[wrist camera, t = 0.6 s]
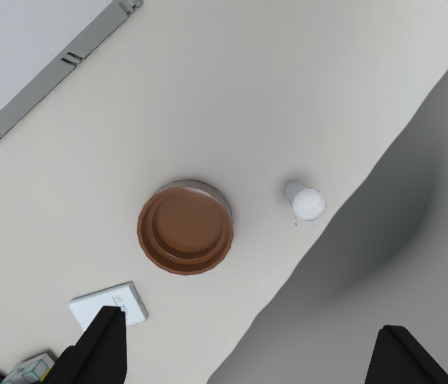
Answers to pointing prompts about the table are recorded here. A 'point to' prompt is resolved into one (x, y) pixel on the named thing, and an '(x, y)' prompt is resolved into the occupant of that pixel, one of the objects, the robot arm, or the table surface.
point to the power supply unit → (48, 46)
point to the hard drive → (114, 296)
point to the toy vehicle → (30, 371)
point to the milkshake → (305, 201)
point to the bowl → (186, 228)
